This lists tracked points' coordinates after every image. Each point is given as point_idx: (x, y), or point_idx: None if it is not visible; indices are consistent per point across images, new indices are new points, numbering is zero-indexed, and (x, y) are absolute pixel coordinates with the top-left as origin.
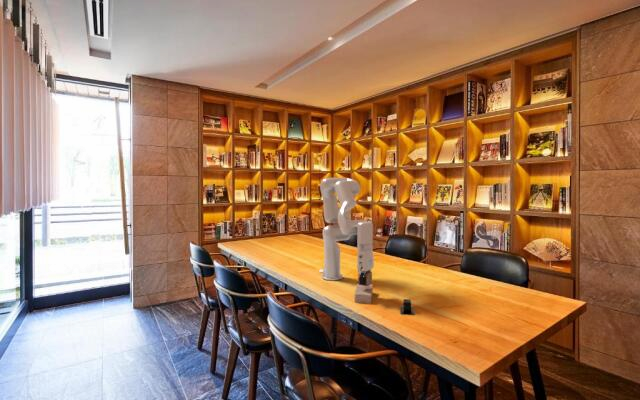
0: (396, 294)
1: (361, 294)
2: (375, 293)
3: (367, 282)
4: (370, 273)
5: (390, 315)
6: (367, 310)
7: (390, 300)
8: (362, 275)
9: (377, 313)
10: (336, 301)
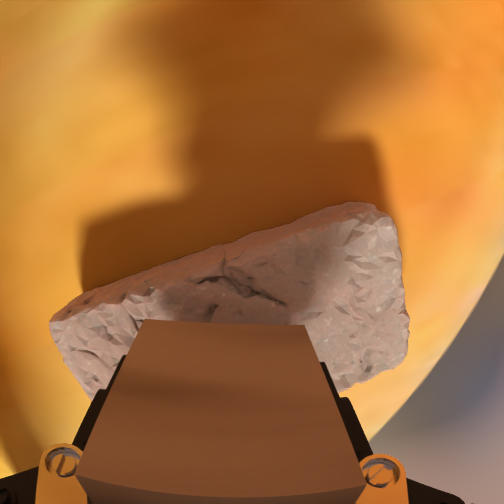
0: (30, 85)
1: (404, 309)
2: (87, 257)
3: (315, 362)
4: (172, 472)
5: (482, 29)
6: (486, 180)
7: (201, 57)
8: (425, 487)
9: (497, 106)
10: (395, 412)
